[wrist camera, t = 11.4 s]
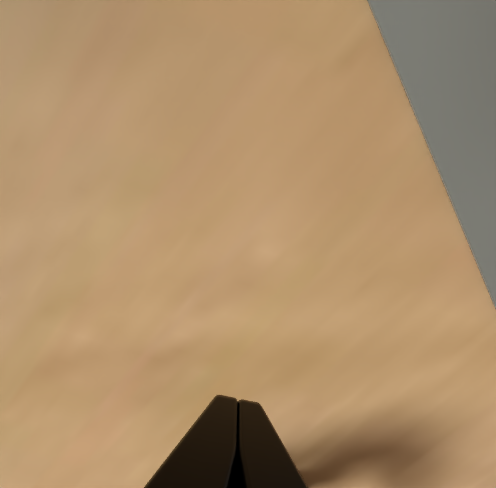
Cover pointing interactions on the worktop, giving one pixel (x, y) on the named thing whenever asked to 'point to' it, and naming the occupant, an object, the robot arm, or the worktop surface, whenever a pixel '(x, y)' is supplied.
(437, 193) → the worktop surface
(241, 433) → the robot arm
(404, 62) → the slate layout card
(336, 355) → the worktop surface
